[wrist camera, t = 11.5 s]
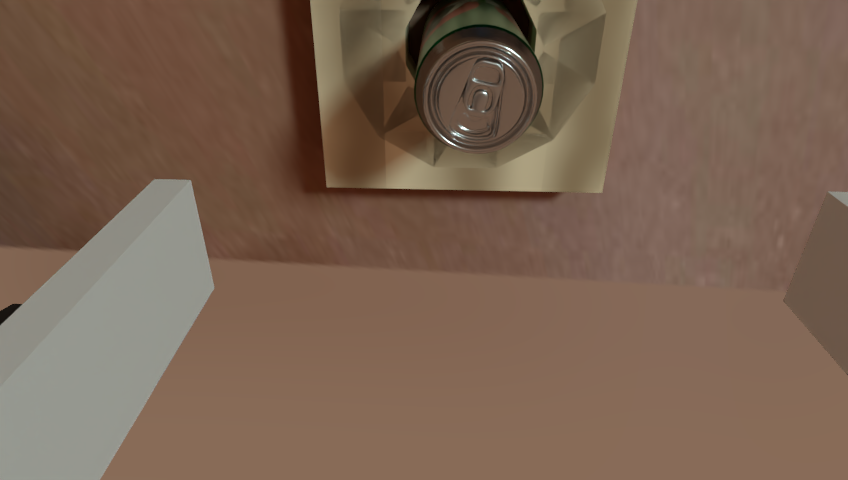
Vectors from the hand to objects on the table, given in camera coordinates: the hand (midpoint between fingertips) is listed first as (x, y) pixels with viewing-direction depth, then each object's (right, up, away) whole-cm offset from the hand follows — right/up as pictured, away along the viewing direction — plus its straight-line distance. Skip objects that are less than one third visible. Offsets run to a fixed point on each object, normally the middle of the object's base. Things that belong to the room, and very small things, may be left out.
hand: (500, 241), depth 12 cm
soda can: (+1, +11, +20) cm, 23 cm away
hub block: (+1, +11, +19) cm, 22 cm away
